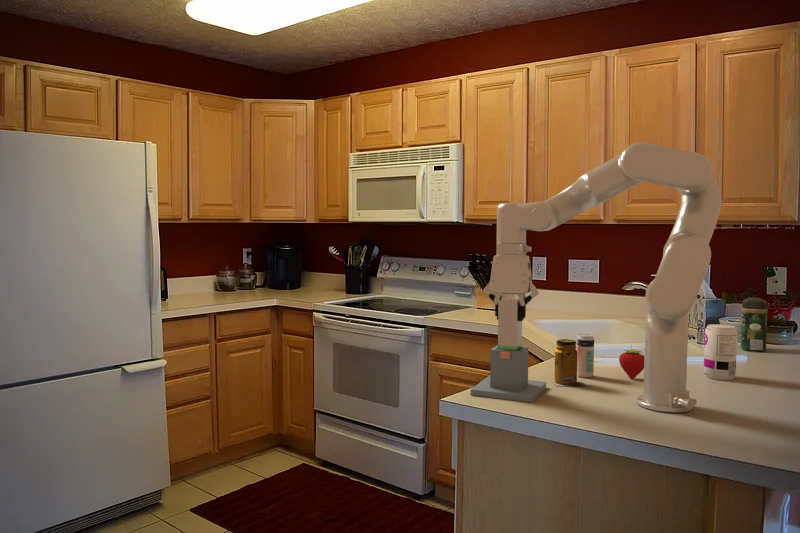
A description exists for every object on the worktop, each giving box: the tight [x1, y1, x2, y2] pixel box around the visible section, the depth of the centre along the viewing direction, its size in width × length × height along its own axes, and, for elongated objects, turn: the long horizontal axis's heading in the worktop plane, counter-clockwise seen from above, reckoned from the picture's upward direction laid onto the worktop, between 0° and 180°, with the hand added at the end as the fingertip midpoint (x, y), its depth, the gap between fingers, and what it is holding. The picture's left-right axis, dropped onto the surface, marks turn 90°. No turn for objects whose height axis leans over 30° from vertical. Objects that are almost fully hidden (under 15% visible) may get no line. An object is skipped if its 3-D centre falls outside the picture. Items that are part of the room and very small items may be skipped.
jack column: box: [496, 297, 523, 351], centre depth 161 cm, size 5×5×17 cm
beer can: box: [576, 333, 595, 379], centre depth 178 cm, size 5×5×12 cm
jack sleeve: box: [470, 345, 547, 404], centre depth 161 cm, size 16×16×12 cm
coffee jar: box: [740, 296, 768, 353], centre depth 217 cm, size 10×8×19 cm
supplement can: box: [703, 323, 738, 381], centre depth 177 cm, size 8×8×15 cm
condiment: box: [550, 338, 588, 387], centre depth 170 cm, size 7×8×12 cm
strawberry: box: [618, 344, 644, 380], centre depth 175 cm, size 6×8×10 cm
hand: (510, 319), depth 161 cm, fingers closed on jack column, 5 cm apart
